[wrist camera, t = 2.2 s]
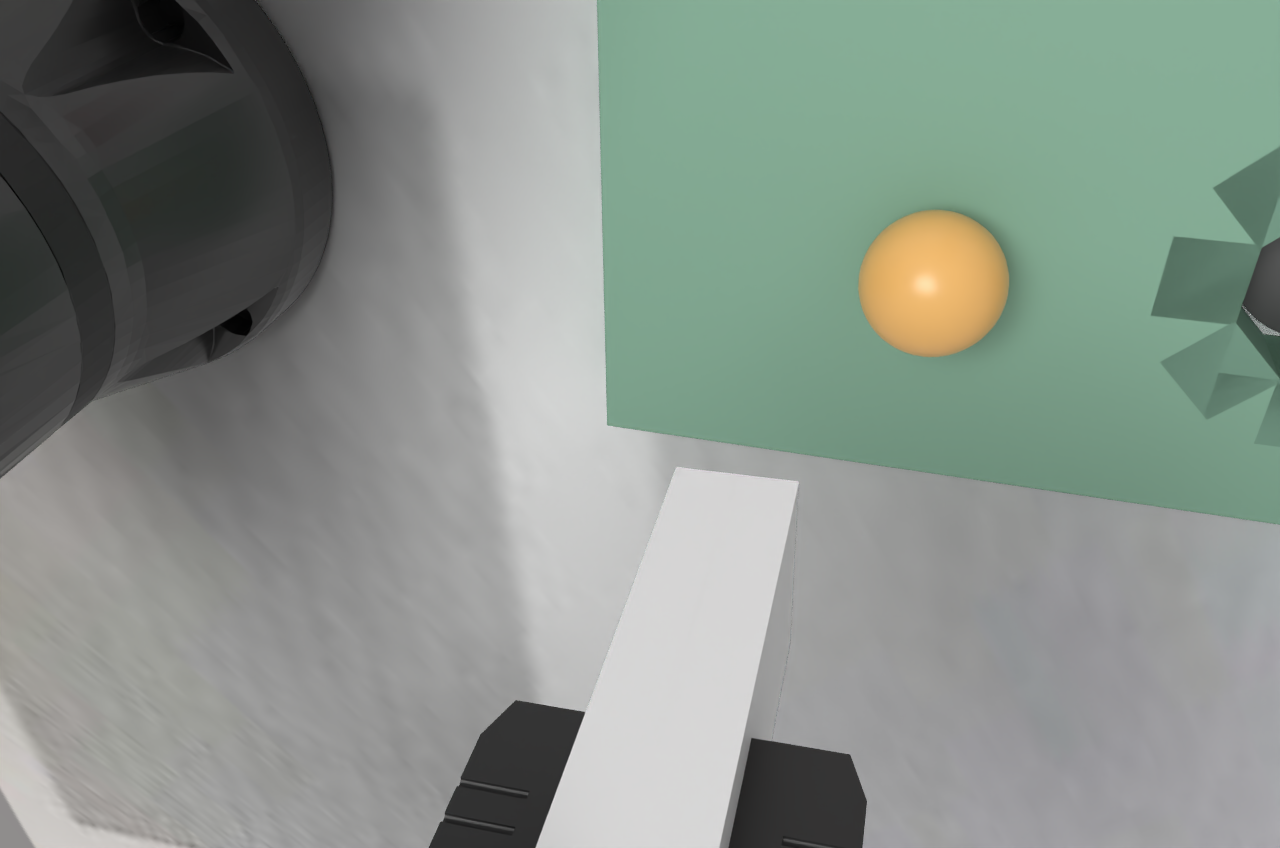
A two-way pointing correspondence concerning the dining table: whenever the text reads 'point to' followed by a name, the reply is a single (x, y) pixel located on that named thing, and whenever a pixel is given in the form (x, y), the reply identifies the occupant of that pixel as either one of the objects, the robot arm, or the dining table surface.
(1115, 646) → the dining table surface
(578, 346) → the dining table surface
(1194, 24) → the mini golf green
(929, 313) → the ball
